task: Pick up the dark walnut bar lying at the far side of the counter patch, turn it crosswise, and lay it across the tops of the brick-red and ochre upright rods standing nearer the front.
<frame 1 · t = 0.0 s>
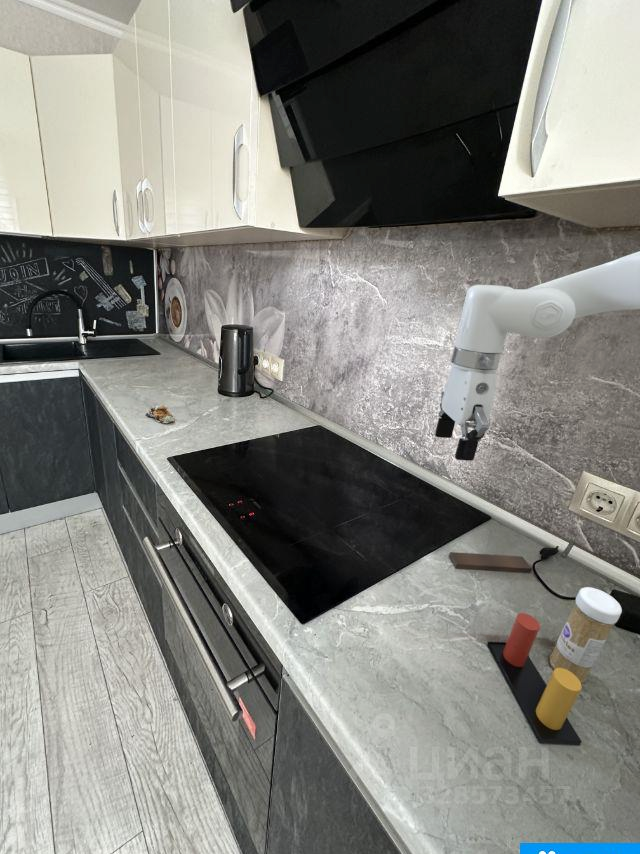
hand: (452, 447, 74), 21 cm above the worktop, tool pointing down, fingers open, 9 cm apart
rod stand: (528, 689, 53), on the worktop
walnut bar: (486, 572, 73), on the worktop
sprinkles bottle: (566, 670, 56), on the worktop
brown grey rock: (162, 418, 134), on the worktop
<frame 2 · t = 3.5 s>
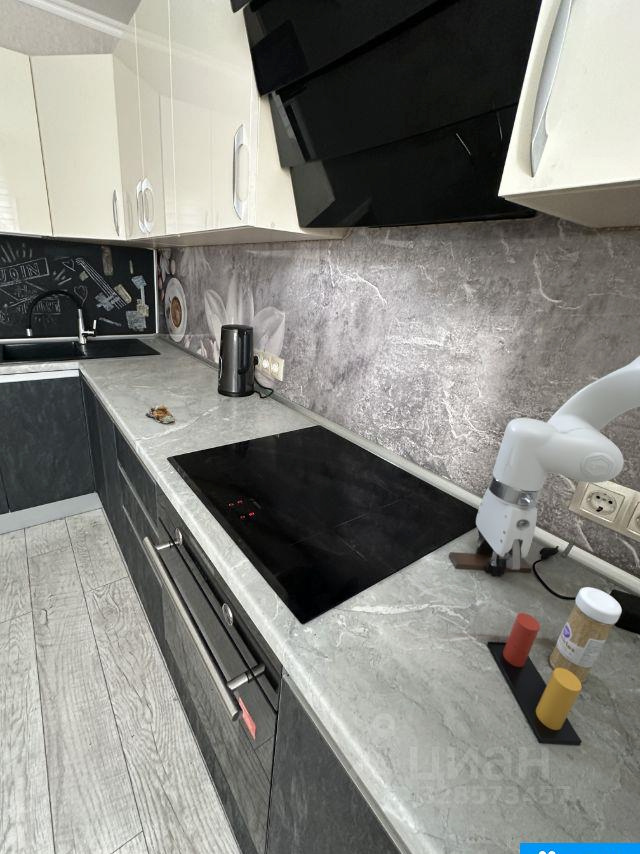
hand: (486, 571, 73), 0 cm above the worktop, tool pointing down, fingers closed on walnut bar, 3 cm apart
walnut bar: (486, 572, 73), on the worktop, touching gripper
everything else where it was.
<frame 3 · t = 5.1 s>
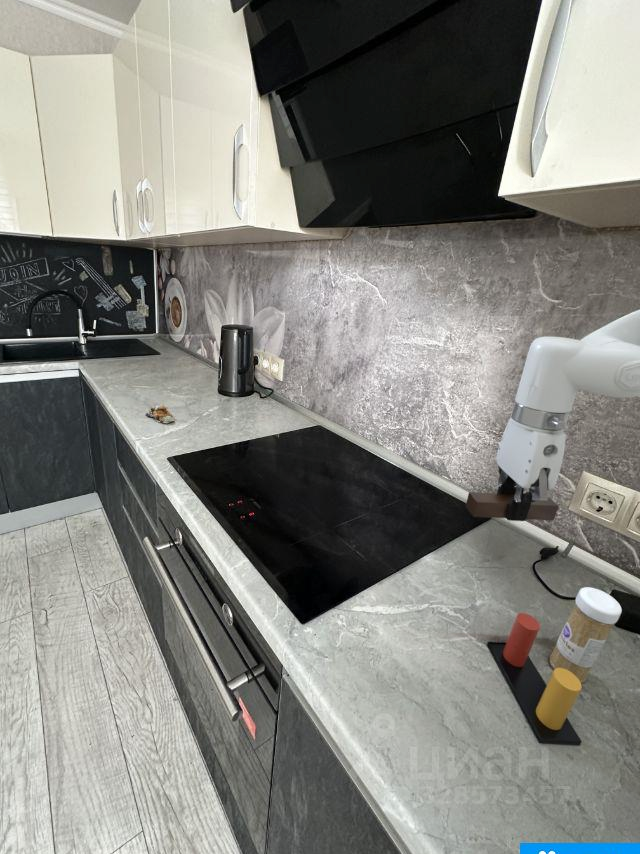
hand: (509, 512, 68), 14 cm above the worktop, tool pointing down, fingers closed on walnut bar, 3 cm apart
walnut bar: (508, 513, 68), point 14 cm above the worktop, touching gripper
everything else where it was.
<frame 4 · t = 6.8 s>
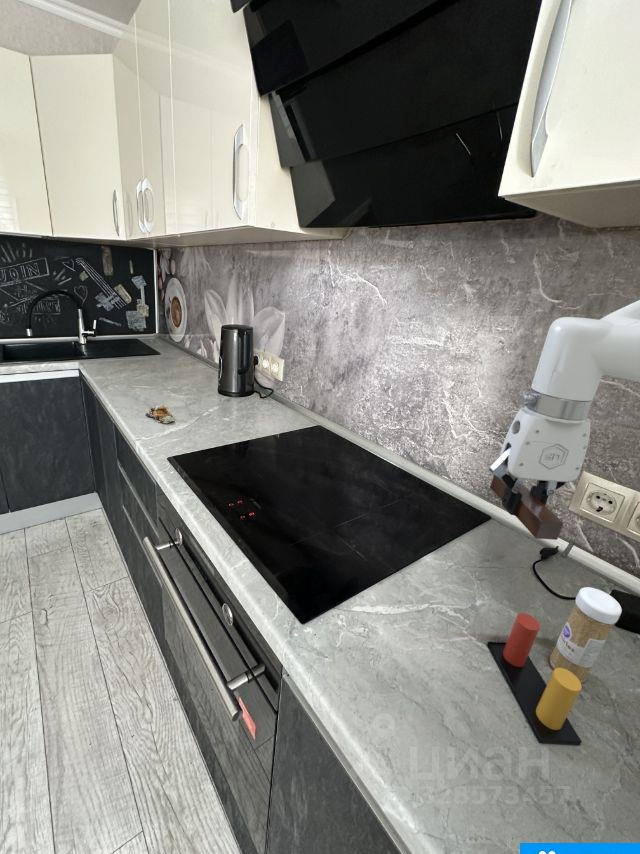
hand: (520, 510, 63), 17 cm above the worktop, tool pointing down, fingers closed on walnut bar, 3 cm apart
walnut bar: (520, 511, 63), point 17 cm above the worktop, touching gripper
everything else where it was.
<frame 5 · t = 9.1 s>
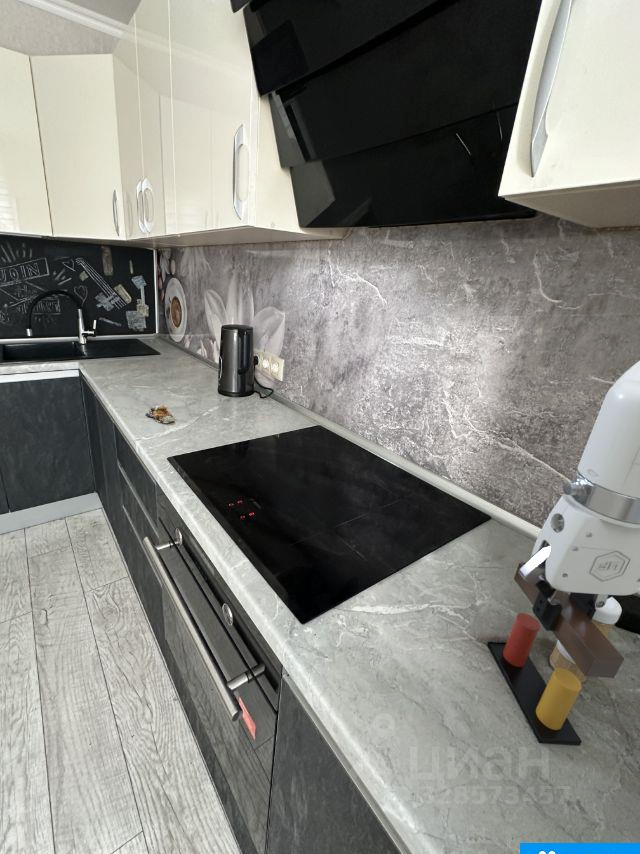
hand: (557, 620, 48), 13 cm above the worktop, tool pointing down, fingers closed on walnut bar, 3 cm apart
walnut bar: (556, 621, 48), point 13 cm above the worktop, touching gripper
everything else where it was.
when the fingers open (8 cm above the worktop, at t = 10.4 s): walnut bar stays where it is, resting on rod stand.
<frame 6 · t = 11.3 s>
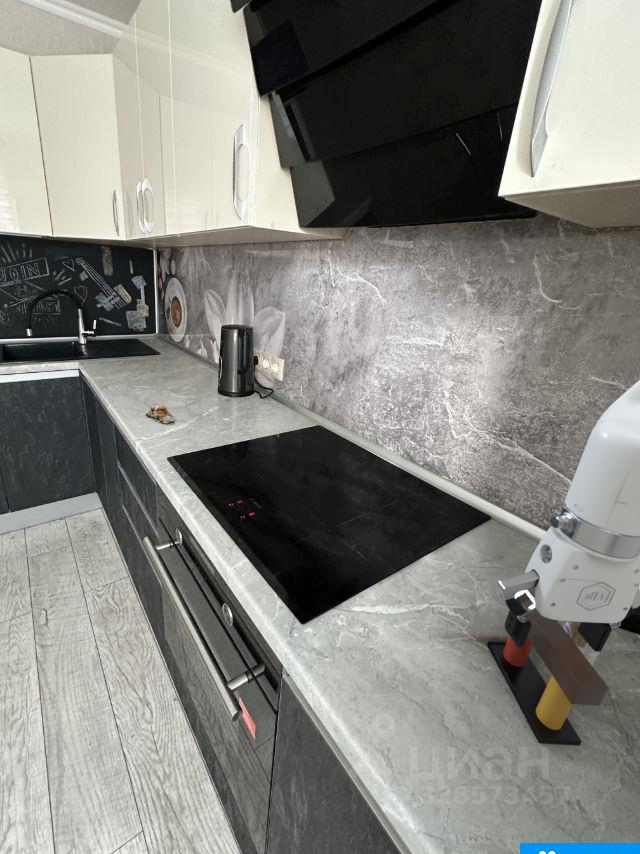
hand: (550, 639, 49), 10 cm above the worktop, tool pointing down, fingers open, 9 cm apart
walnut bar: (545, 647, 50), point 8 cm above the worktop, touching rod stand
everything else where it was.
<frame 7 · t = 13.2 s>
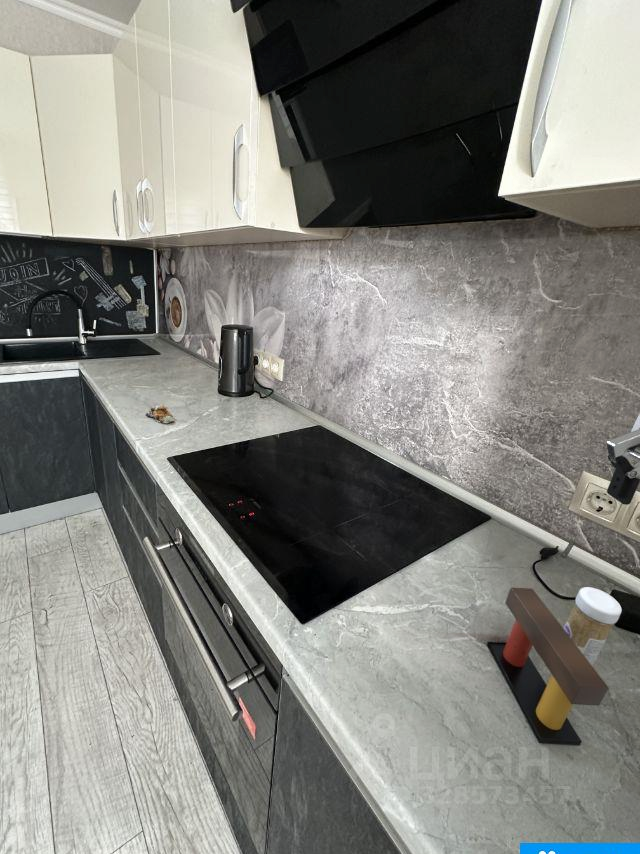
nothing on the worktop moved.
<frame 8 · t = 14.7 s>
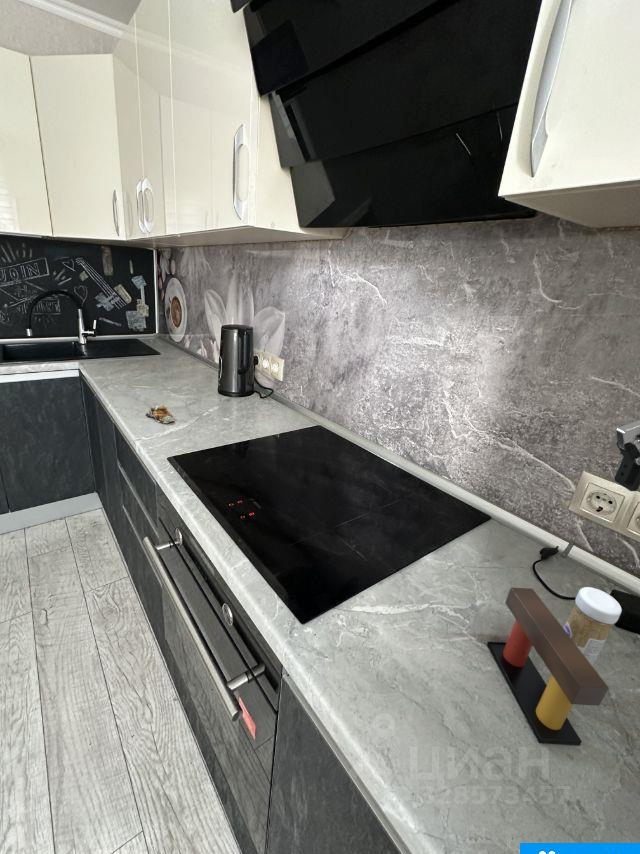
nothing on the worktop moved.
at the end: walnut bar 0.1 cm off-centre on the rod stand, point 8.0 cm above the rod stand's base; walnut bar tilted 0°; walnut bar touching rod stand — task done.
